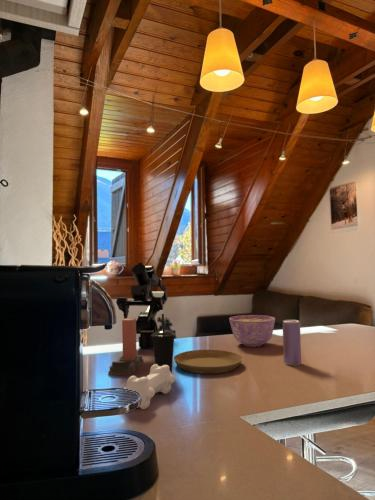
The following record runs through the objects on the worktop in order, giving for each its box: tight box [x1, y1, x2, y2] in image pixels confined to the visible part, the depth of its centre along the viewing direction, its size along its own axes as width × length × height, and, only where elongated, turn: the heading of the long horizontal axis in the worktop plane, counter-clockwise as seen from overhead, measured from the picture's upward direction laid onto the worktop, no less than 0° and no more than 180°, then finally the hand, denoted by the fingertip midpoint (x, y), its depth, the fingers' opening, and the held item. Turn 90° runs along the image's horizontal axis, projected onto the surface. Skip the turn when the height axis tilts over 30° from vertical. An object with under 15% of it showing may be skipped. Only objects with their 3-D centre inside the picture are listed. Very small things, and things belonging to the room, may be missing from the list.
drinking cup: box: [151, 313, 176, 374], centre depth 120 cm, size 8×8×20 cm
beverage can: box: [282, 319, 302, 367], centre depth 132 cm, size 6×6×15 cm
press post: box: [121, 317, 139, 363], centre depth 135 cm, size 5×5×15 cm
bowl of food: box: [228, 314, 276, 348], centre depth 164 cm, size 20×20×12 cm
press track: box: [107, 354, 144, 376], centre depth 131 cm, size 16×8×4 cm, turn 173°
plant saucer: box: [173, 349, 243, 375], centre depth 132 cm, size 24×24×3 cm
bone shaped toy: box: [123, 363, 176, 410], centre depth 100 cm, size 15×9×8 cm, turn 156°
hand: (136, 321), depth 148 cm, fingers open, 9 cm apart
